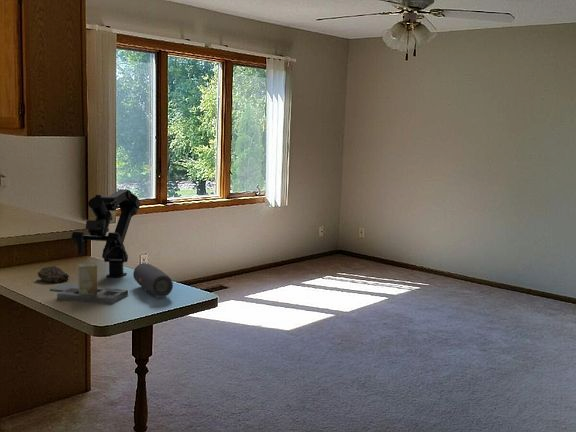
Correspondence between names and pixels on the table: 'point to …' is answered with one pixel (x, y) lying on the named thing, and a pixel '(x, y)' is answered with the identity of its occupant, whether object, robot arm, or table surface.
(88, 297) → the grey black flat block
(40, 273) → the concrete sample
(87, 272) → the skincare box
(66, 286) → the pad
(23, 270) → the table surface
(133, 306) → the table surface
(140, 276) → the bluetooth speaker
